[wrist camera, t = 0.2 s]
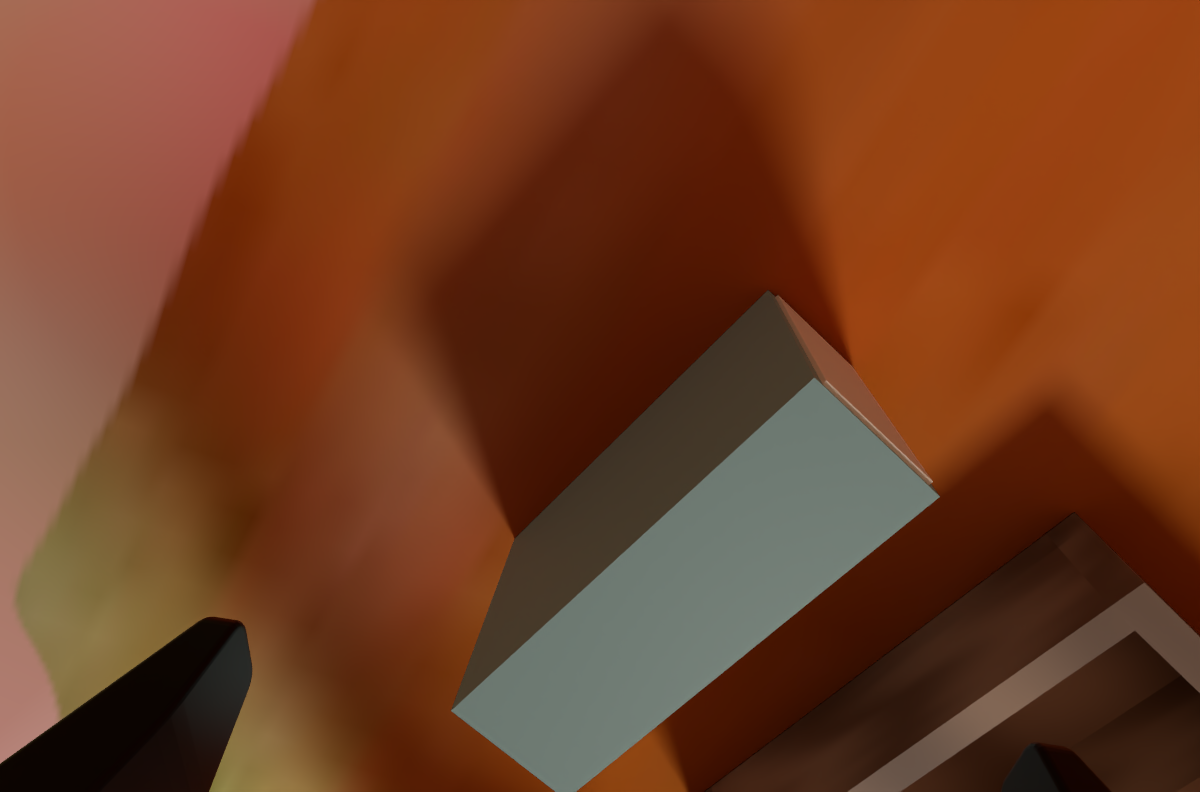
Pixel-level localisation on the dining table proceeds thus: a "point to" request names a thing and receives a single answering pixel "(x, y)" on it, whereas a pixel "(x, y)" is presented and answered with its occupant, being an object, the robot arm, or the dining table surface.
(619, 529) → the teal book
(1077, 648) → the book rack
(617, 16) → the dining table surface
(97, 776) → the robot arm
